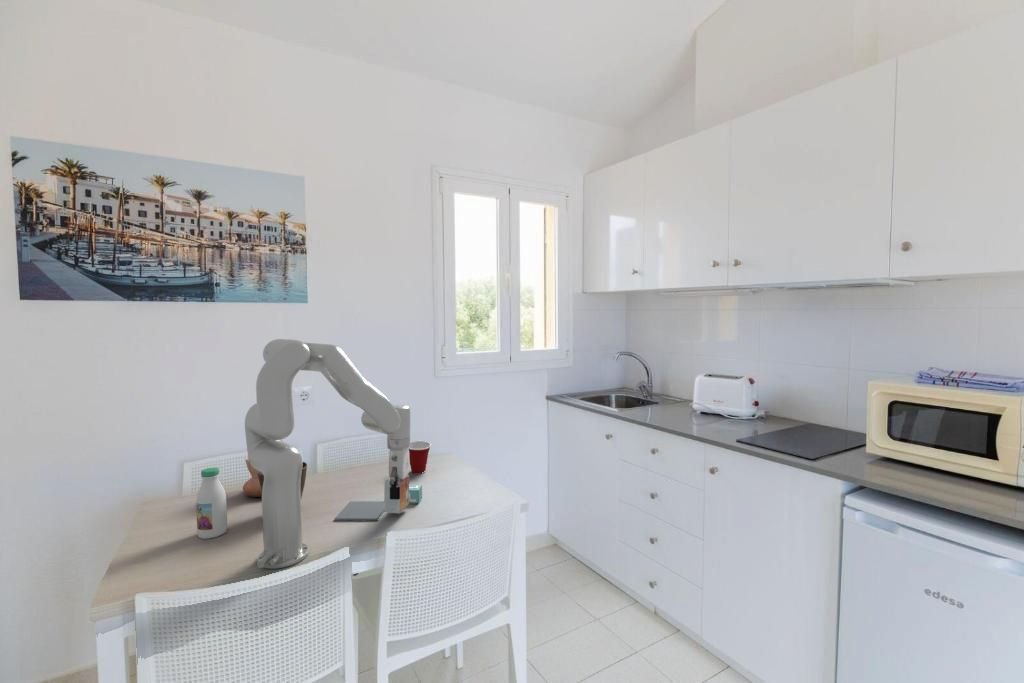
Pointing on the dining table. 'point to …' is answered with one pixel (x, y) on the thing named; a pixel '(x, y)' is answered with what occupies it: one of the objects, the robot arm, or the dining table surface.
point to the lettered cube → (415, 493)
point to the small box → (394, 504)
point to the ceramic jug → (252, 482)
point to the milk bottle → (211, 505)
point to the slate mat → (361, 511)
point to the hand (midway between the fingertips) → (398, 493)
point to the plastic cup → (418, 455)
